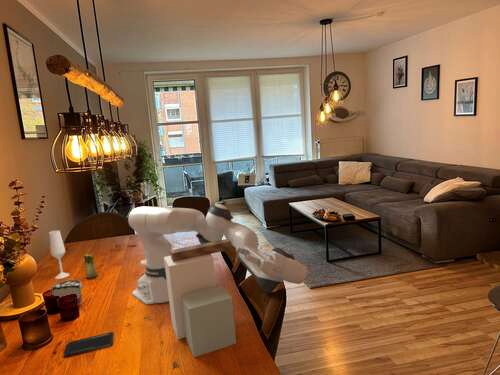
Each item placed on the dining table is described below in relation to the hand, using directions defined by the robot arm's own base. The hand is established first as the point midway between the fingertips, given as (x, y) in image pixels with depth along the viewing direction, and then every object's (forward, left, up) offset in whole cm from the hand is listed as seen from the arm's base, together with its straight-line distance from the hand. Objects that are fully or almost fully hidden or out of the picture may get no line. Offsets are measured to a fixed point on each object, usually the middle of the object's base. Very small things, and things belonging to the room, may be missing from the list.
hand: (241, 253), depth 127 cm
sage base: (+1, -21, -23) cm, 31 cm away
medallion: (-75, +24, -24) cm, 82 cm away
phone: (-34, -43, -24) cm, 60 cm away
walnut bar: (-8, -12, +3) cm, 15 cm away
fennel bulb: (-90, -11, -24) cm, 94 cm away
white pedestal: (-10, -17, -23) cm, 30 cm away
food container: (-70, -31, -24) cm, 80 cm away
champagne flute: (-107, -18, -24) cm, 111 cm away
